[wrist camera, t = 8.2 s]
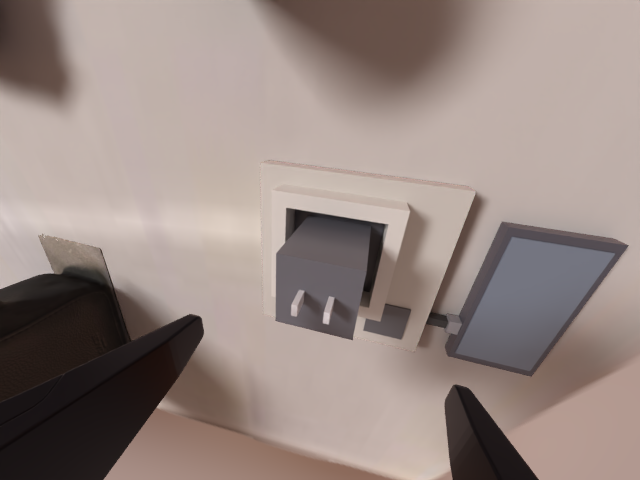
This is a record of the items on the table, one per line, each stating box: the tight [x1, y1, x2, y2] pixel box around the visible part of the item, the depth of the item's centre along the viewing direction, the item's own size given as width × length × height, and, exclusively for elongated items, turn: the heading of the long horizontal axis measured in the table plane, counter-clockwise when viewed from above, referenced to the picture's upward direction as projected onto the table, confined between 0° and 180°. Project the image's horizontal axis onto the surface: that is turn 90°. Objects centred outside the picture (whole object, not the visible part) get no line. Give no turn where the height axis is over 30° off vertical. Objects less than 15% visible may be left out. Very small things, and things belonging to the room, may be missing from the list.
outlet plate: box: [260, 160, 476, 352], centre depth 18 cm, size 14×14×4 cm
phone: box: [445, 222, 629, 376], centre depth 17 cm, size 6×12×1 cm, turn 175°
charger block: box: [276, 216, 371, 340], centre depth 14 cm, size 4×4×7 cm
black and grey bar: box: [426, 312, 462, 335], centre depth 20 cm, size 3×1×1 cm, turn 85°
